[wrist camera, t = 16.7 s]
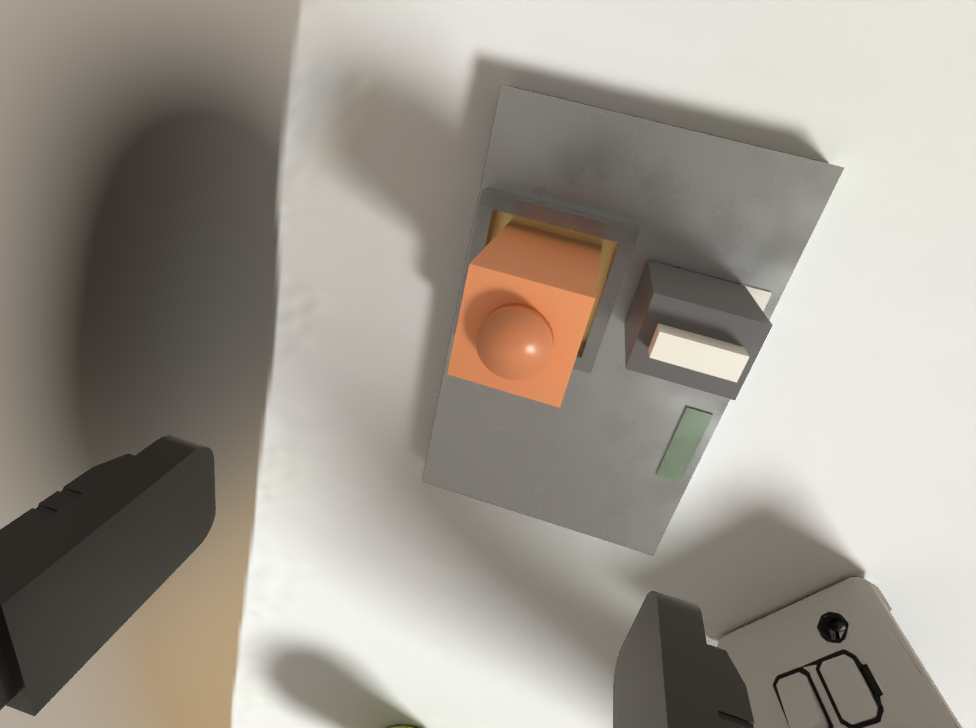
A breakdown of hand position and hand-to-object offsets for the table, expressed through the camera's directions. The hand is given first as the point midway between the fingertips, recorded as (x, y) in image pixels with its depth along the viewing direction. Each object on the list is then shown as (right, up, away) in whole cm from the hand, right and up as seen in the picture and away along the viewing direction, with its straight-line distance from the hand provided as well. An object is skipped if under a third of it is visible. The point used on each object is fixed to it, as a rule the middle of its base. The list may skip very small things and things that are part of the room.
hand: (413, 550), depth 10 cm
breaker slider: (+10, +6, +13) cm, 17 cm away
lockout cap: (+4, +7, +14) cm, 16 cm away
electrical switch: (+20, -12, +21) cm, 31 cm away
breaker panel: (+6, +4, +17) cm, 18 cm away
